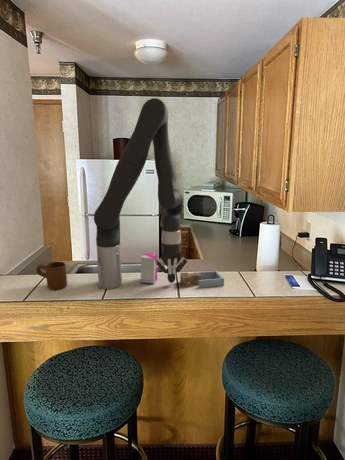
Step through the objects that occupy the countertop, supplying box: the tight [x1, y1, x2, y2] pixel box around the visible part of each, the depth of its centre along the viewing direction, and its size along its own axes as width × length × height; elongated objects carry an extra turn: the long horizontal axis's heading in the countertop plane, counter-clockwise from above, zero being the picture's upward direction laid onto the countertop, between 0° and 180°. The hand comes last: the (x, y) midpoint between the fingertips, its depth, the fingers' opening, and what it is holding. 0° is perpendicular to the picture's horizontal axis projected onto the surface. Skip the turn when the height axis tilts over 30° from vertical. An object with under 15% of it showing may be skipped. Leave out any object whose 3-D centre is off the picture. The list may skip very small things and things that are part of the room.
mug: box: [35, 261, 68, 291], centre depth 132 cm, size 12×8×9 cm, turn 83°
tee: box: [179, 272, 202, 288], centre depth 135 cm, size 8×6×4 cm
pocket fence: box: [193, 270, 225, 289], centre depth 137 cm, size 10×9×3 cm
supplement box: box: [140, 252, 158, 285], centre depth 137 cm, size 6×6×12 cm
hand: (171, 281), depth 134 cm, fingers closed
